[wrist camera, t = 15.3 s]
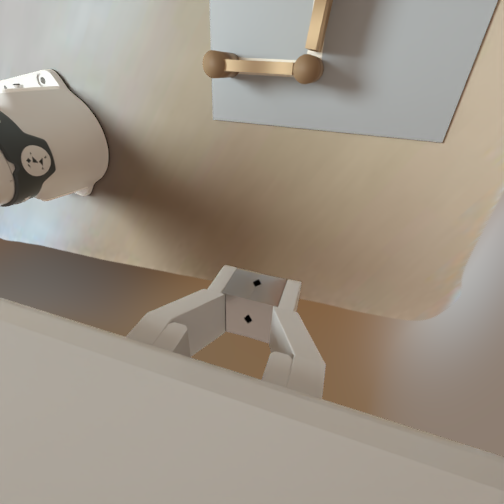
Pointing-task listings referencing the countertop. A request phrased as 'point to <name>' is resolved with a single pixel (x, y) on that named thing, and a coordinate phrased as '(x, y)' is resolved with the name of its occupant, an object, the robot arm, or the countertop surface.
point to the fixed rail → (262, 66)
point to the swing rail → (318, 25)
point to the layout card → (351, 64)
